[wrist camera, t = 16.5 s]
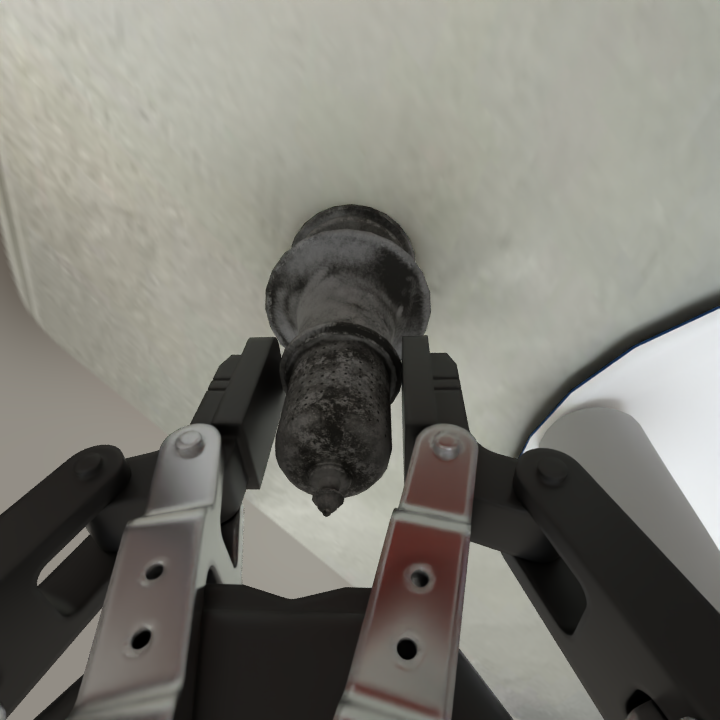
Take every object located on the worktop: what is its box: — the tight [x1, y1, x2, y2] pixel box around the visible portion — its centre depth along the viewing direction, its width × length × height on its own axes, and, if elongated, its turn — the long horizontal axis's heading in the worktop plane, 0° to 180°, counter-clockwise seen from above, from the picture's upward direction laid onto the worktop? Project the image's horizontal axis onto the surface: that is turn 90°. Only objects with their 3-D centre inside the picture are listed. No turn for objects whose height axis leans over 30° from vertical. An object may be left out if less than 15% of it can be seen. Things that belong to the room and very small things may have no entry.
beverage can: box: [539, 407, 720, 613], centre depth 18 cm, size 5×5×12 cm
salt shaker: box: [265, 205, 431, 517], centre depth 14 cm, size 6×6×12 cm
